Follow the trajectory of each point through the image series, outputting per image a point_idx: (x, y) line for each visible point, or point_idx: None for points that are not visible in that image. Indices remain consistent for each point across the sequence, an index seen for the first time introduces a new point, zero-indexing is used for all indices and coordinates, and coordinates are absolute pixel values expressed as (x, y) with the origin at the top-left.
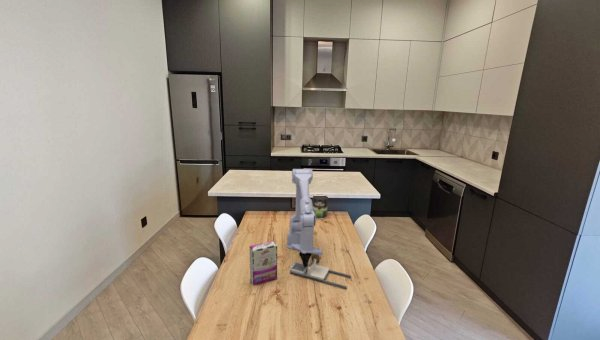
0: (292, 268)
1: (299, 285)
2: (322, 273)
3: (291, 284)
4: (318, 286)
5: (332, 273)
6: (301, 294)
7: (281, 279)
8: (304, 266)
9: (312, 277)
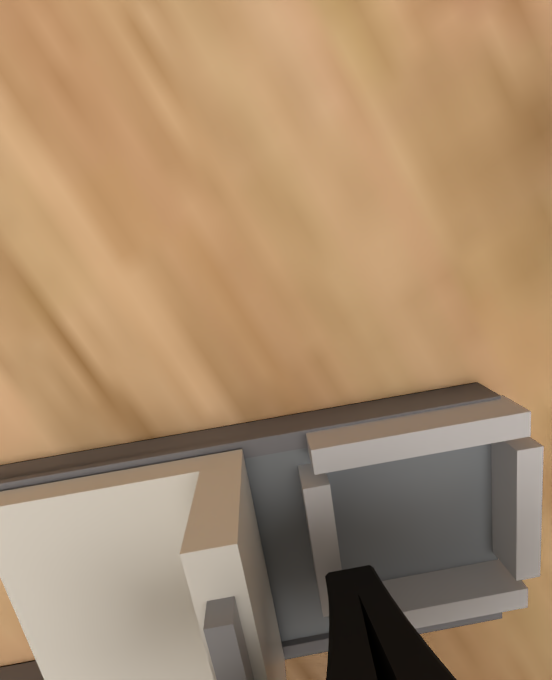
0: (502, 463)
1: (247, 242)
2: (67, 595)
3: (354, 196)
4: (25, 372)
5: None
6: (106, 68)
7: (528, 213)
8: (356, 574)
9: (160, 459)
